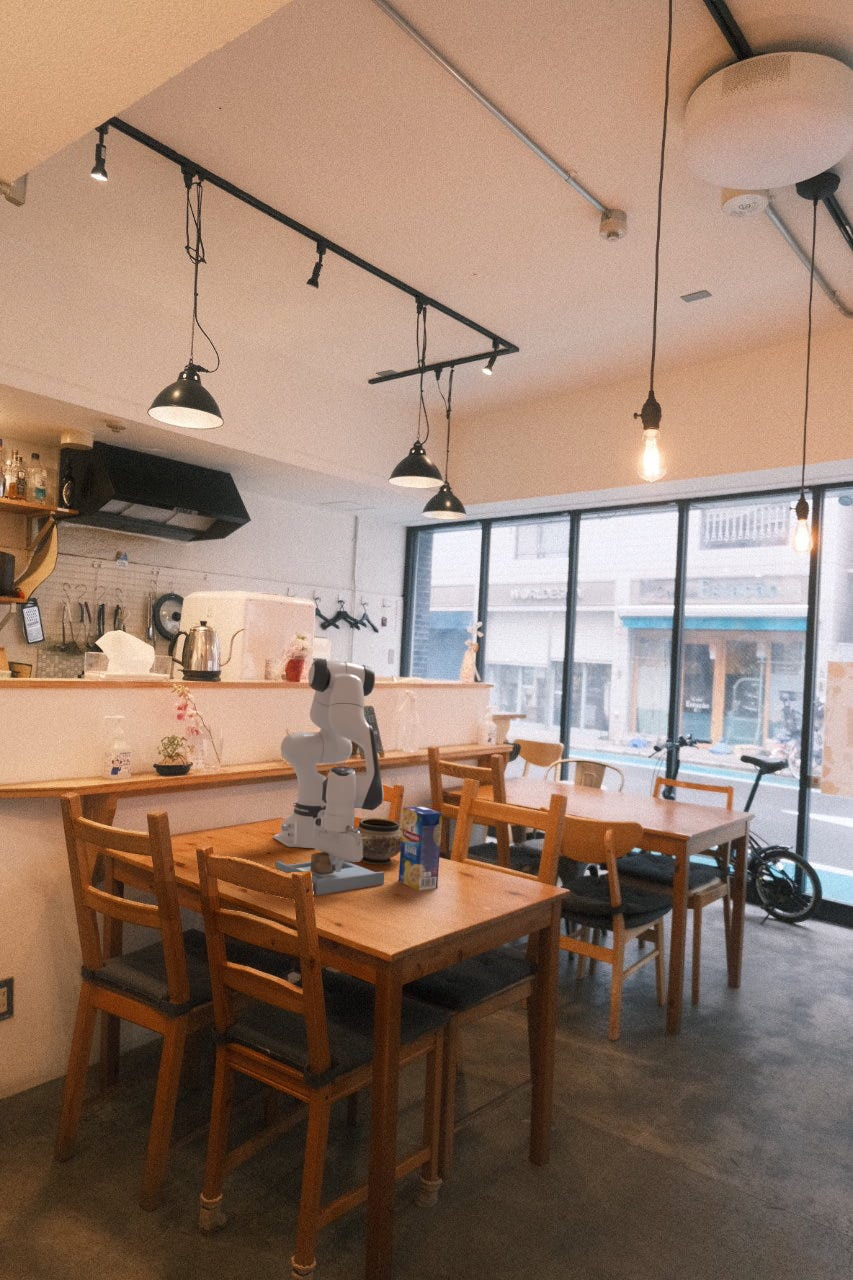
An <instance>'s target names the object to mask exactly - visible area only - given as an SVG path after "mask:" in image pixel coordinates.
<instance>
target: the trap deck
mask: <svg viewBox="0 0 853 1280" xmlns="http://www.w3.org/2000/svg"><path fill="white" fill-rule="evenodd" d="M274 868H275V869H277V870H280V871H283V872H285V873H291V872H304V871H310V868H311V861H308V862H299V863H291V864H287V863H285V862H282V861H280V860H276V861H275V867H274ZM275 869H274V870H275ZM311 873H312V883H313V891H314V895H315V896H321V895H327V894H333V893H339V892H345V891H351V890H357V889H361V888H369V887H374V886H381V885H384V884H385V883H384V882H385V872H384V871H383V870H382V871H377V872H375V871H373V870H371V869H368V868H365V867H362V866H360V865H359V864H358V865H357V864H355V863H353V862H350V861H347V860H344V862H343V864H342V866H341V871H340V872H335V871H334V872H332V873H325V874H318V873H315V872H313V871H311ZM315 896H314V897H315Z"/></svg>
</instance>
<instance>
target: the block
mask: <svg viewBox="0 0 853 1280" xmlns="http://www.w3.org/2000/svg"><path fill="white" fill-rule="evenodd" d="M310 862H311V868H310V871H313V872H315V873H318V874H325V873H332V872H334V871H333V870H331V863H330V860H329V854H328V853H325V852H322V851H319V852H313V853H311V855H310Z"/></svg>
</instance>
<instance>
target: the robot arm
mask: <svg viewBox="0 0 853 1280" xmlns="http://www.w3.org/2000/svg"><path fill="white" fill-rule="evenodd" d="M307 675H308V677H307V678H308V684H309V687H311V689H313V691H314V694H313V699H312V703H311V706H310V711H309V718H310V720H311V722H312V723H313V724H314V725H315V726H316V727H318V728H320V730H319V731H318V732H317V731H315V732H314V731H313V732H309V731H300V732H294V733H289V734H286V736H284V738H283V739H282V741H281V745H280V753H281V756H282V758H283V759H284V760H285V761H286V762H287V764H289V765H290V767H292V769H293V770H294V772H295V775H296V778H297V802H294V803H293V805H292V806H293V807H294V809H293V813H291V814H290V815H289V816H288V817H287V818H286V819H284V820H283V821H282V823H281V828H280V833H276V834H274V835H273V839H275V840H276V841H278V842H279V843H281V844H283V845H284V846H286V847H290V848H303V849H304V848H305V849H315V850H317V851H319V852H325V853H328V854H329V860H330V863H331V870H333V871H335V872H340V871H341V866H342V864H343V862H344V860H346V861H347V862H350V863H357V862H361V861H362V858H363V845H362V838H361V834H360V832H359V830H358V829H356V827H355V819H356V818H355V817H356V816H355V815H356V812H355V811H356V810H355V809H362V810H368V811H373V810H375V809H377V808H379V806H381V804H383V801H384V797H385V792H384V791H385V790H384V786H383V782H382V779H381V772H380V764H379V763H380V762H379V755H378V748H377V747H378V746H377V741H376V735H375V729H374V727H373V726H372V725H371V724H369V723H368V722H367V719H366V718H365V697H368V696H369V695H370V694H371V693H372V692H373V690H374V688H375V685H376V684H375V683H376V675H375V671H374V669H373V668H372V667H370V666H368V665H366V664H365V665H364V664H358V663H354V662H349V661H339V660H327V659H317V660H314V661H313V662H312V663H311V666H310V668H309V671H308V674H307ZM352 743H354V744H357V745H358V746H359V747H360V748H361V749H362V750H363V753H364V761H365V768H366V775H356V774H357V773H356V771H355V769H354V768H351V767H349V766H343V765H342V766H341V765H340V766H335V767H332V768H331V769H330V770H329V773H328V777H326V776H325V775H323V774H321V773H320V772H318V768H317V767H318V766H317V765H324V764H325V765H327V764H331V765H334V764H339V763H343V762H346V761H348V760H349V758H350V757H351V755H352V753H353V744H352Z"/></svg>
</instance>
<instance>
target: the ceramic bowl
mask: <svg viewBox="0 0 853 1280" xmlns="http://www.w3.org/2000/svg"><path fill="white" fill-rule="evenodd" d="M355 828H356V829H358V830H359V832H360V834H361V838H362V845H363V856H362V859H361V861H362V862H364V863H365V864H371V865H378V864H379V865H387V864H390V863H391V861H392V860H391V859H392V858H393V857H396V856H397V855H398V854H399V853H400V850H401V835H402V826H400V823H398V822H397V821H395V820H391V819H387V818H379V817H365V818H362V819H359V823H358V825H357V826H356V827H355Z"/></svg>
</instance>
